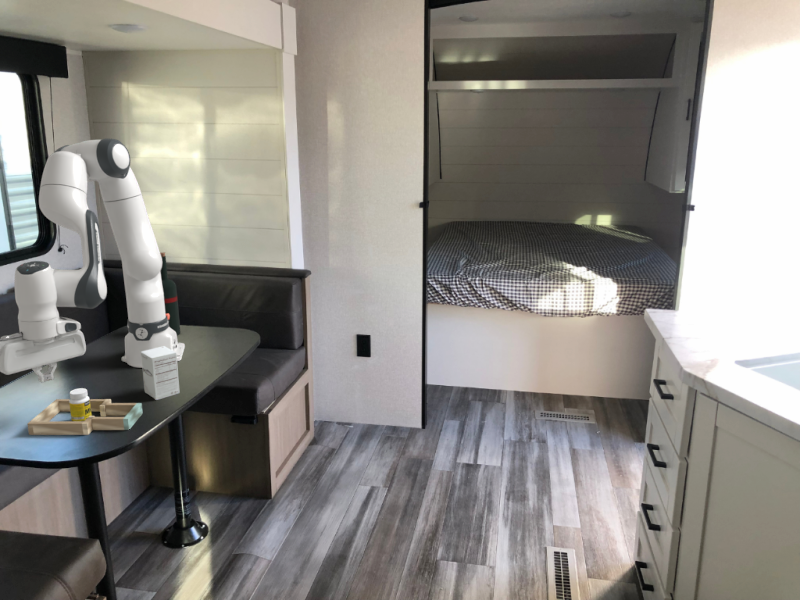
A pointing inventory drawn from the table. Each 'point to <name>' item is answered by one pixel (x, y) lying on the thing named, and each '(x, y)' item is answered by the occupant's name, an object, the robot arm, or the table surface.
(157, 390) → the supplement box
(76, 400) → the supplement bottle
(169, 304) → the wine bottle
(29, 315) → the robot arm
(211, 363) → the table surface
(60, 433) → the keyhole corral
